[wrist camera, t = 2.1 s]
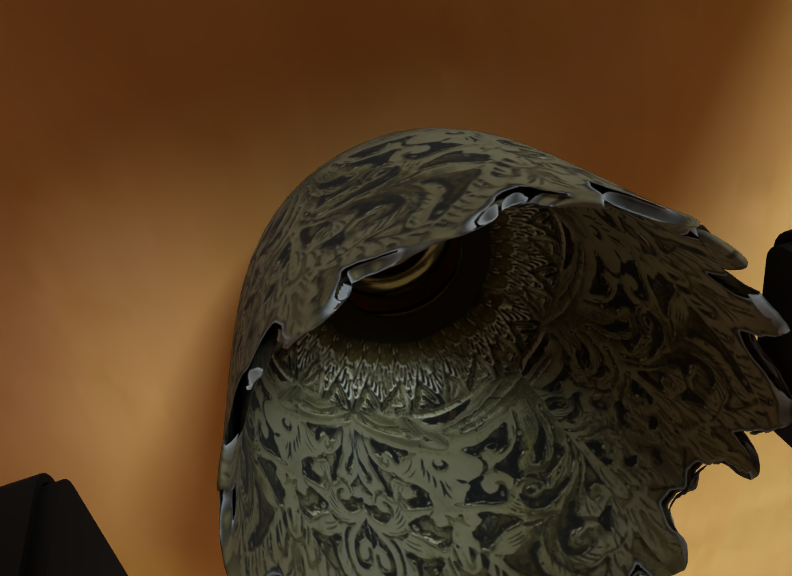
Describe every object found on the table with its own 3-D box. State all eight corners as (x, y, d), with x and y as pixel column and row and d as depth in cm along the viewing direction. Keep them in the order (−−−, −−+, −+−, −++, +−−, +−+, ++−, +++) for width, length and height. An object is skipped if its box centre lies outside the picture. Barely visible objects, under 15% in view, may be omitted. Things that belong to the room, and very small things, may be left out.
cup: (429, 405, 19) (571, 709, 12) (143, 307, 15) (113, 649, 9) (603, 149, 16) (904, 344, 9) (309, -30, 13) (448, 73, 6)
